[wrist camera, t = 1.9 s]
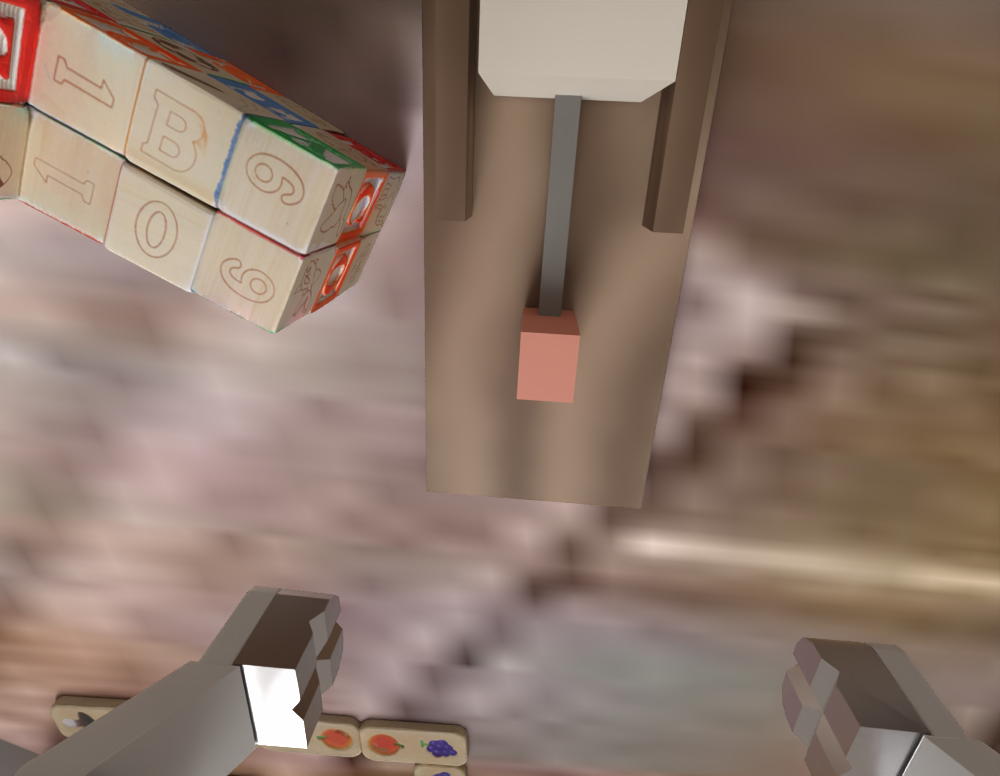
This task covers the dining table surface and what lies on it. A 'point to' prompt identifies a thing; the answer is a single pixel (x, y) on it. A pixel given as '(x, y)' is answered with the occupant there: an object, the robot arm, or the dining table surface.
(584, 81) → the block
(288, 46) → the dining table surface
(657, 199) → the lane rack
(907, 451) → the dining table surface
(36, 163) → the stack of blocks
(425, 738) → the pile of dominoes
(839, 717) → the robot arm
